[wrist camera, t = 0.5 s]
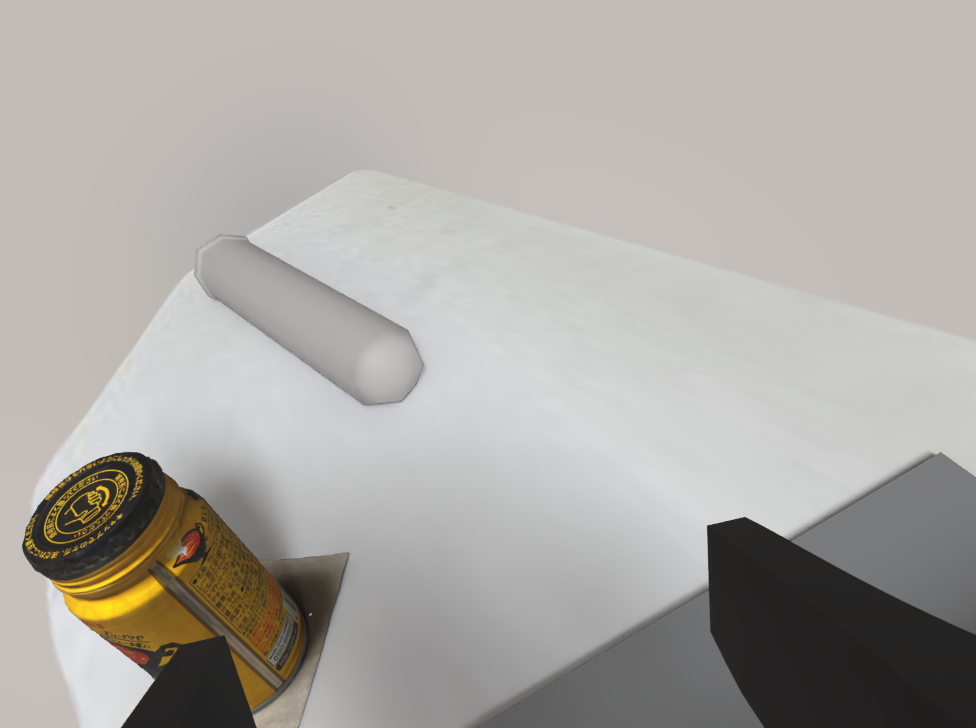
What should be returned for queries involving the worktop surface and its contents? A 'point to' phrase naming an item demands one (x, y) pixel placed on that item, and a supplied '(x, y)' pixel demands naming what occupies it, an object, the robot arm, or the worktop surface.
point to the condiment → (182, 580)
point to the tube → (311, 320)
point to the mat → (686, 631)
